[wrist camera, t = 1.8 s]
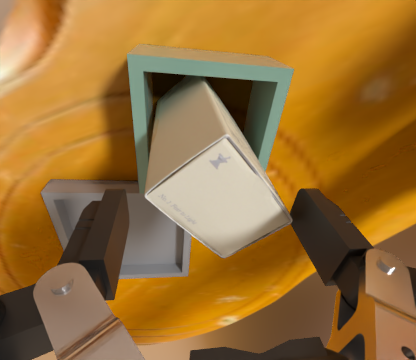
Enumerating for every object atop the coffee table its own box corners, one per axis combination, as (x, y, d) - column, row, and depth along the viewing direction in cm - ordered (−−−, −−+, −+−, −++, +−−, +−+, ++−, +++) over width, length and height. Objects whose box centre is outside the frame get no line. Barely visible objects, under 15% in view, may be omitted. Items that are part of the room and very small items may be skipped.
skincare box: (156, 100, 19) (132, 193, 9) (199, 64, 18) (226, 127, 8) (202, 153, 22) (221, 263, 13) (241, 125, 21) (296, 224, 11)
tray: (193, 181, 24) (194, 193, 23) (187, 262, 32) (188, 276, 30) (50, 179, 22) (40, 192, 21) (81, 266, 30) (75, 280, 28)
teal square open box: (268, 56, 18) (294, 68, 14) (244, 163, 23) (258, 194, 19) (139, 43, 17) (126, 54, 13) (146, 160, 22) (139, 193, 18)
